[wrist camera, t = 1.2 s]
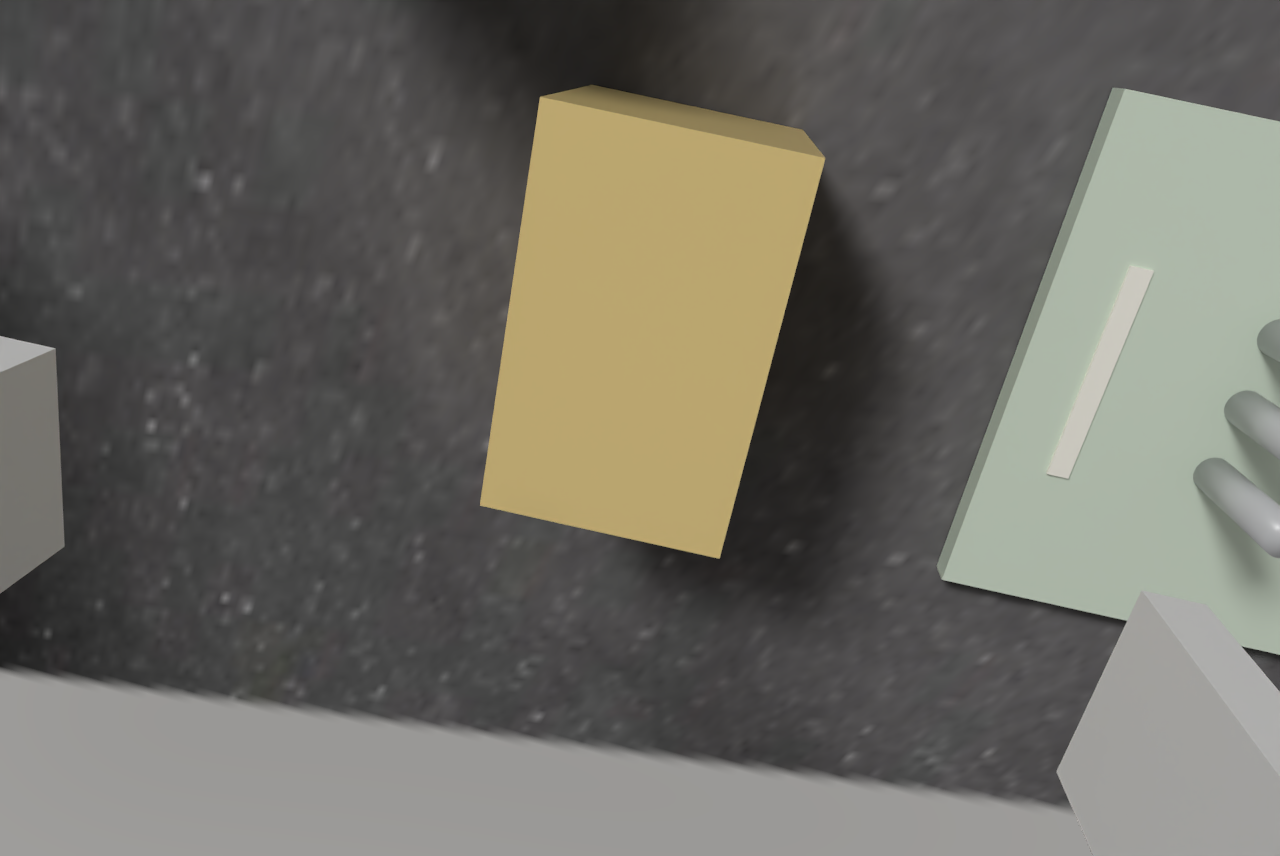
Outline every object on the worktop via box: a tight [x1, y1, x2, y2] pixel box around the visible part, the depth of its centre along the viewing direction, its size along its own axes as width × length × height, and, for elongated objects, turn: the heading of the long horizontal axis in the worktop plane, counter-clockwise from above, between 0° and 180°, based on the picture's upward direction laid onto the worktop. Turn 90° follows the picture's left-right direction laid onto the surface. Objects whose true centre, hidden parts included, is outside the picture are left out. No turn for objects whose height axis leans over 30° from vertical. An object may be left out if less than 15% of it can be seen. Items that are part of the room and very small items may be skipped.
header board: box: [937, 88, 1280, 655], centre depth 24 cm, size 12×14×5 cm
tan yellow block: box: [480, 85, 825, 559], centre depth 23 cm, size 6×9×7 cm, turn 169°
